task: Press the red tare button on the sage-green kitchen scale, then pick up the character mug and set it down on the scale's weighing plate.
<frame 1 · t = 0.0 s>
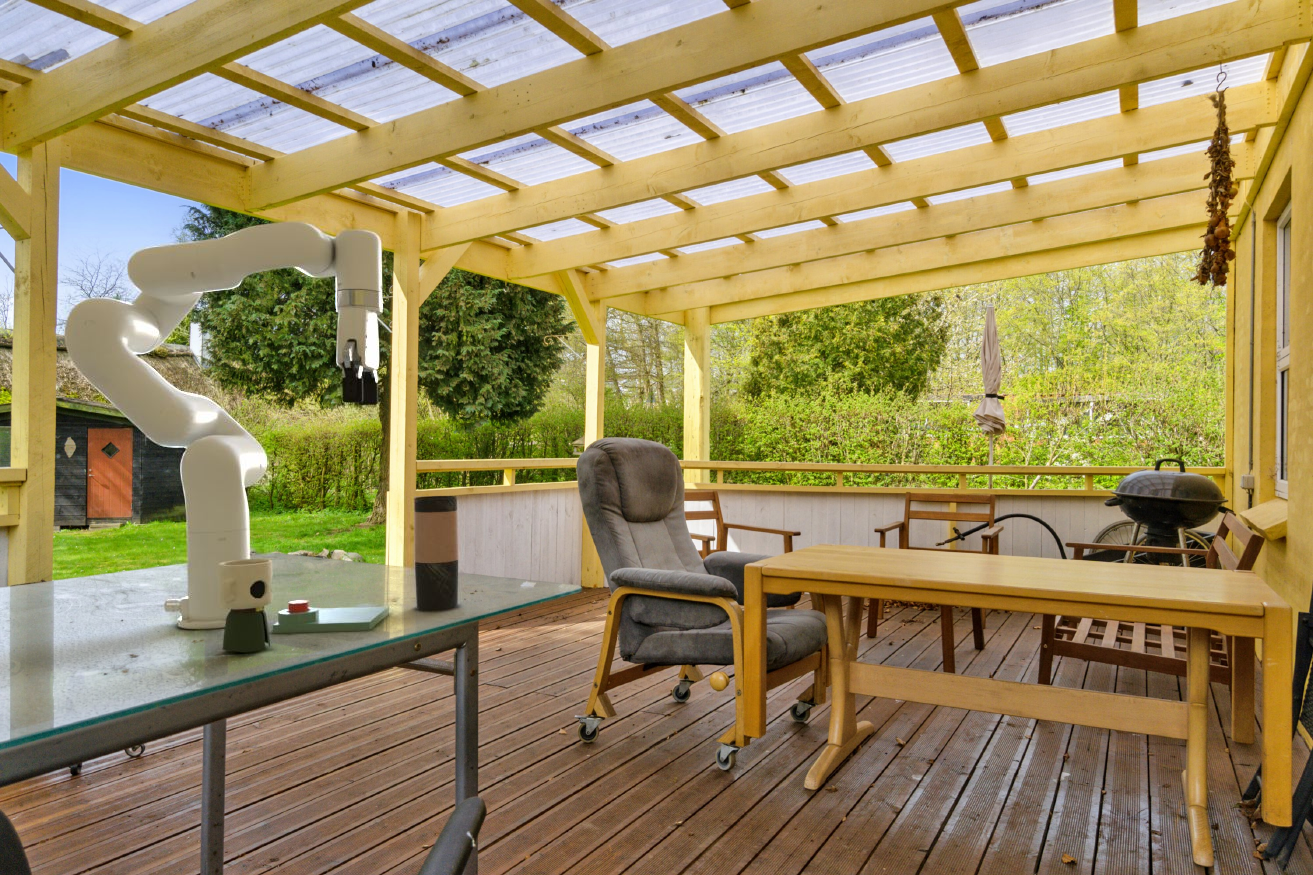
hand: (360, 403, 147), 37 cm above the table, tool pointing down, fingers open, 9 cm apart
travel mug: (437, 608, 155), on the table
scale: (333, 623, 143), on the table
tare button: (298, 607, 139), point 4 cm above the table, slide at 0.2 cm
character mug: (246, 652, 124), on the table
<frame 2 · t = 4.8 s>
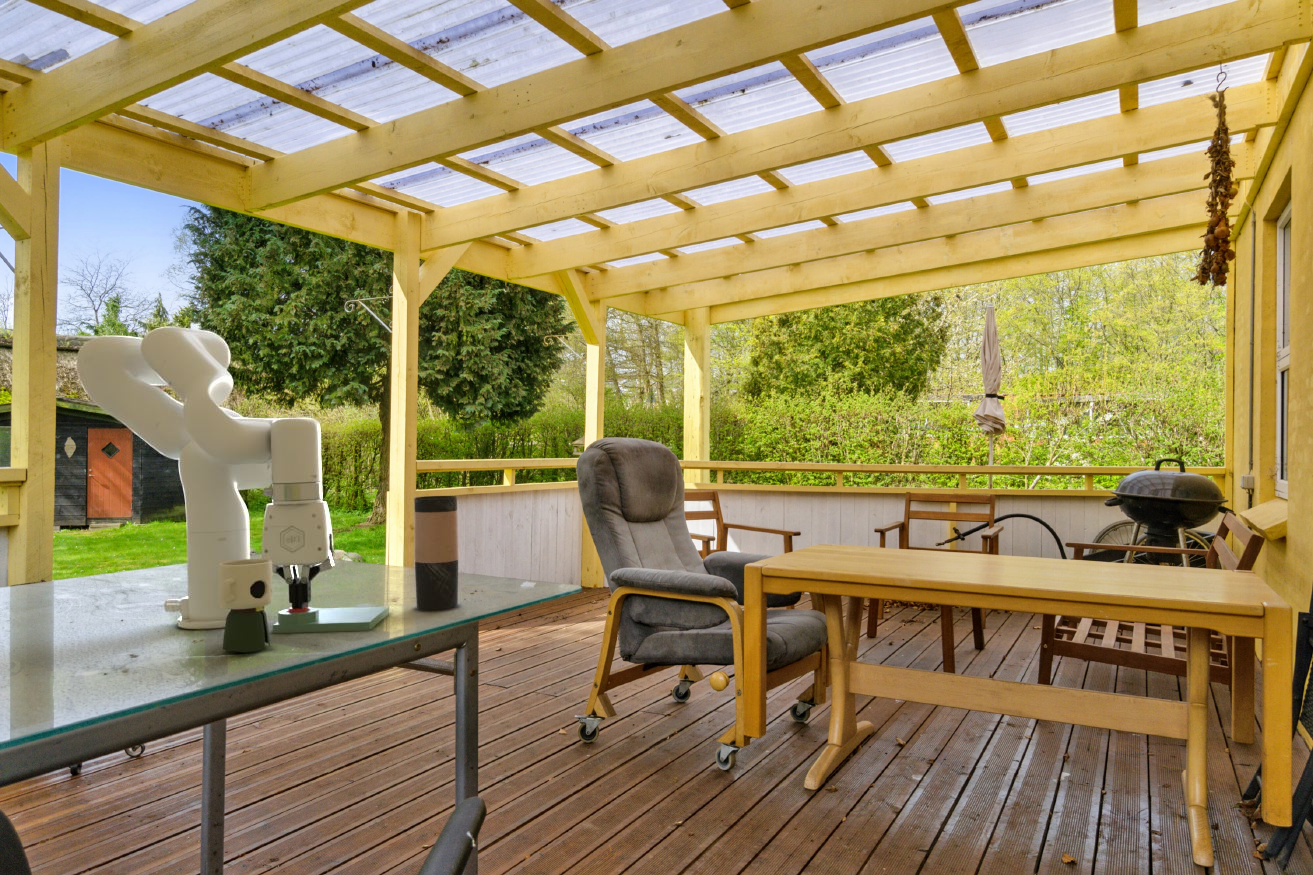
hand: (300, 607, 139), 4 cm above the table, tool pointing down, fingers closed
tare button: (298, 612, 139), point 3 cm above the table, slide at -0.7 cm, touching gripper
everything else where it was.
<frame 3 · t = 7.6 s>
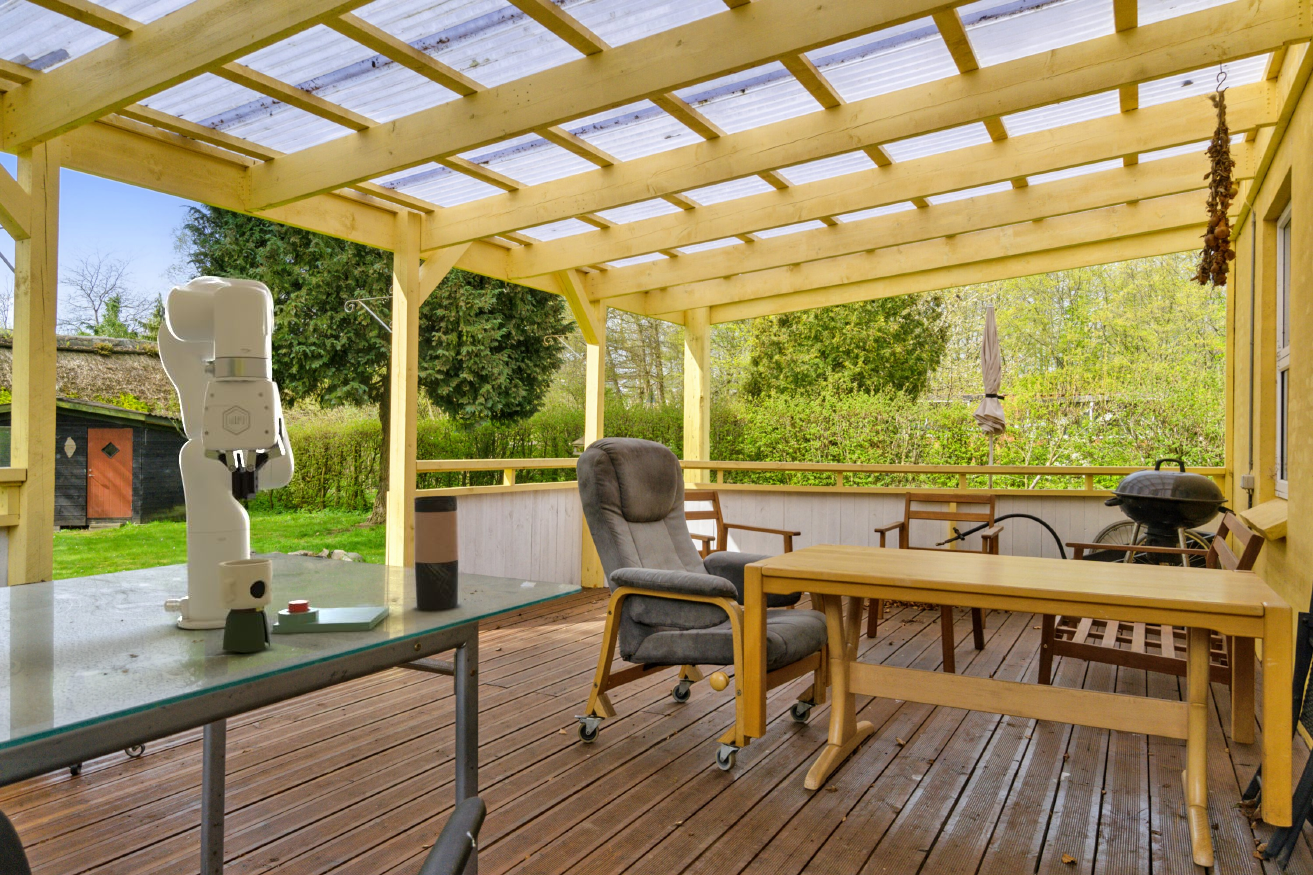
hand: (245, 498, 125), 22 cm above the table, tool pointing down, fingers closed
tare button: (298, 607, 139), point 4 cm above the table, slide at 0.2 cm
everything else where it was.
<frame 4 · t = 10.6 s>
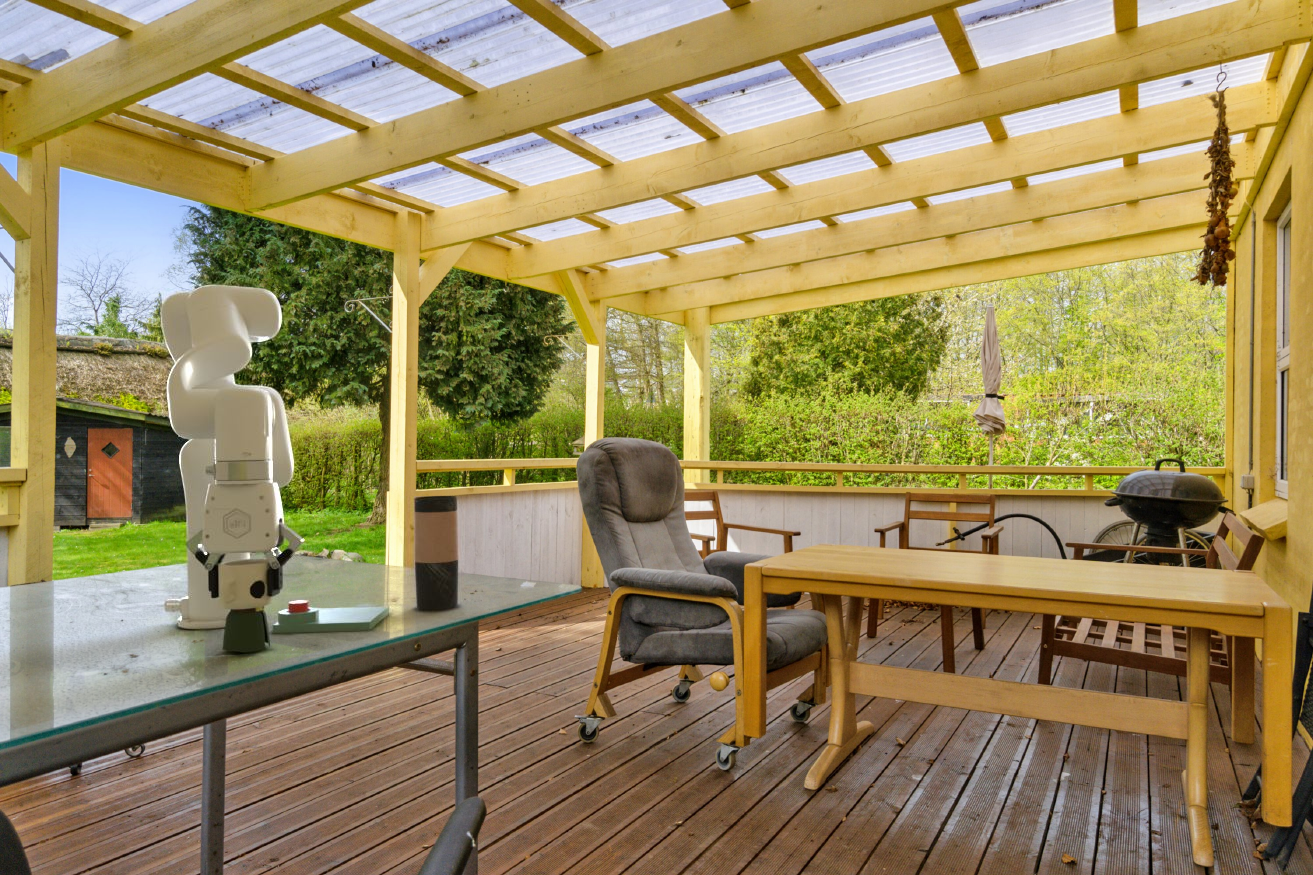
hand: (246, 594, 124), 8 cm above the table, tool pointing down, fingers closed on character mug, 7 cm apart
character mug: (246, 652, 124), on the table, touching gripper
everything else where it was.
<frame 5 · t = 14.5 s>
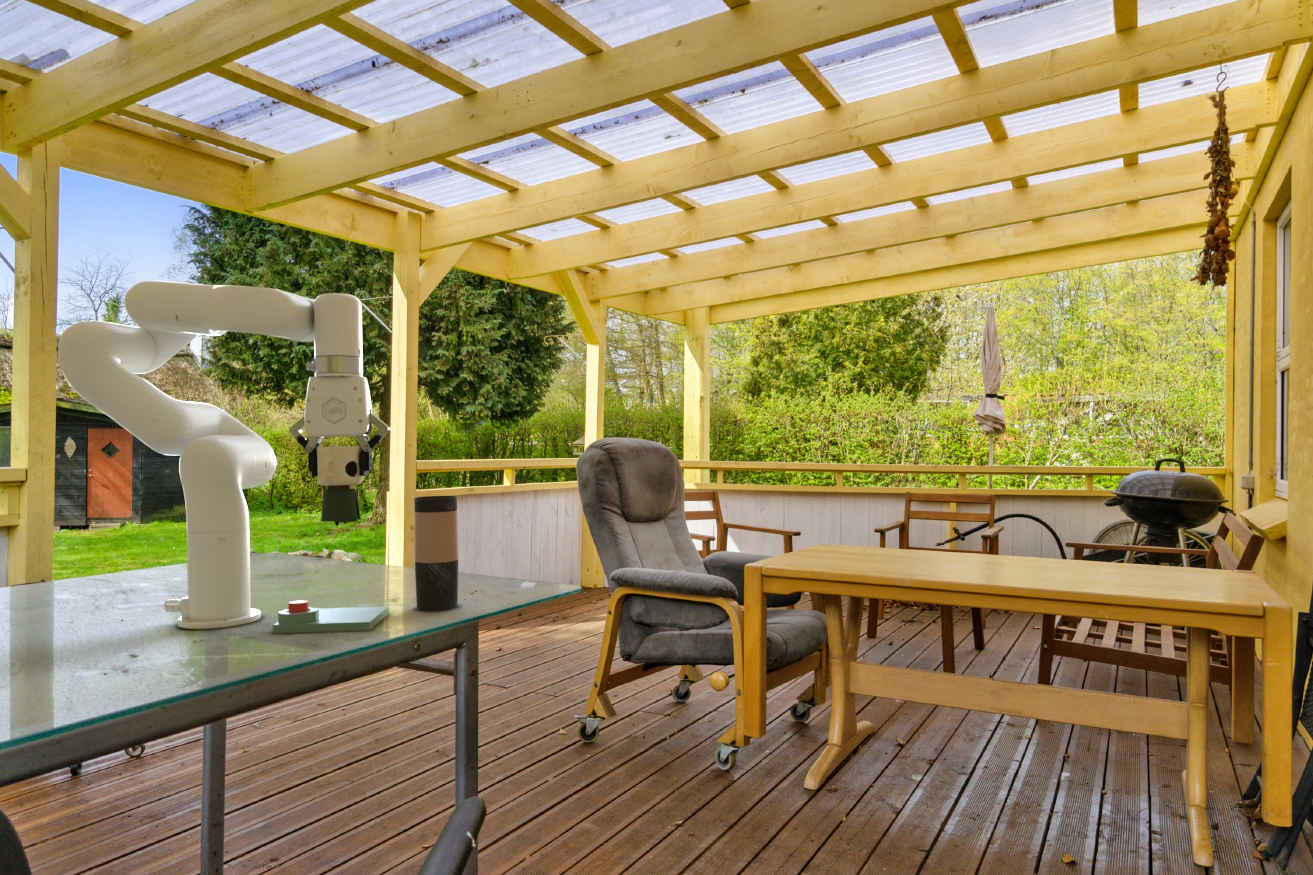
hand: (340, 475, 143), 25 cm above the table, tool pointing down, fingers closed on character mug, 7 cm apart
character mug: (341, 525, 143), point 16 cm above the table, touching gripper
everything else where it was.
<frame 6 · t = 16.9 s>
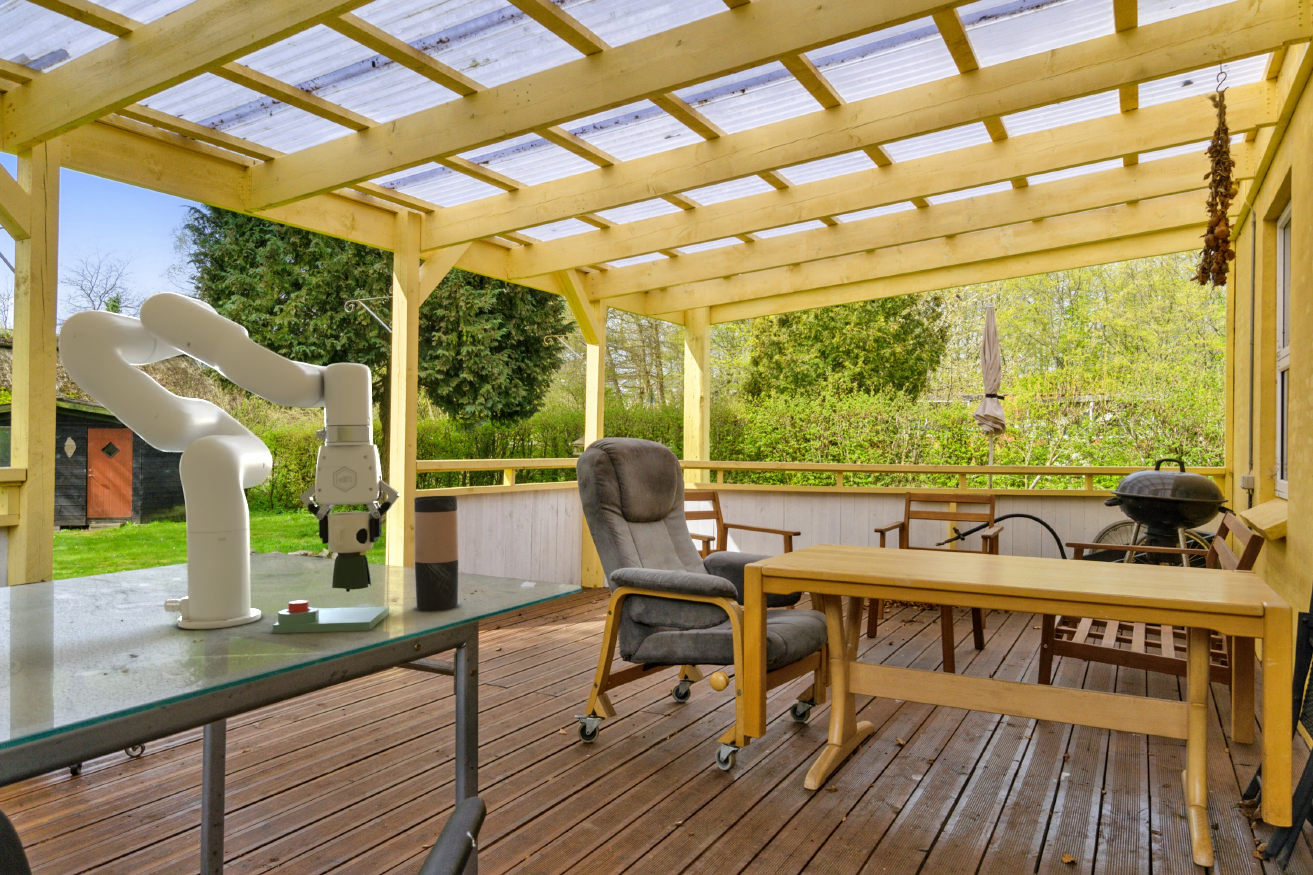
hand: (350, 541, 145), 13 cm above the table, tool pointing down, fingers closed on character mug, 7 cm apart
character mug: (351, 591, 145), point 5 cm above the table, touching gripper
everything else where it was.
when the fingers open (10 cm above the table, at t = 18.7 s): character mug stays where it is, resting on scale.
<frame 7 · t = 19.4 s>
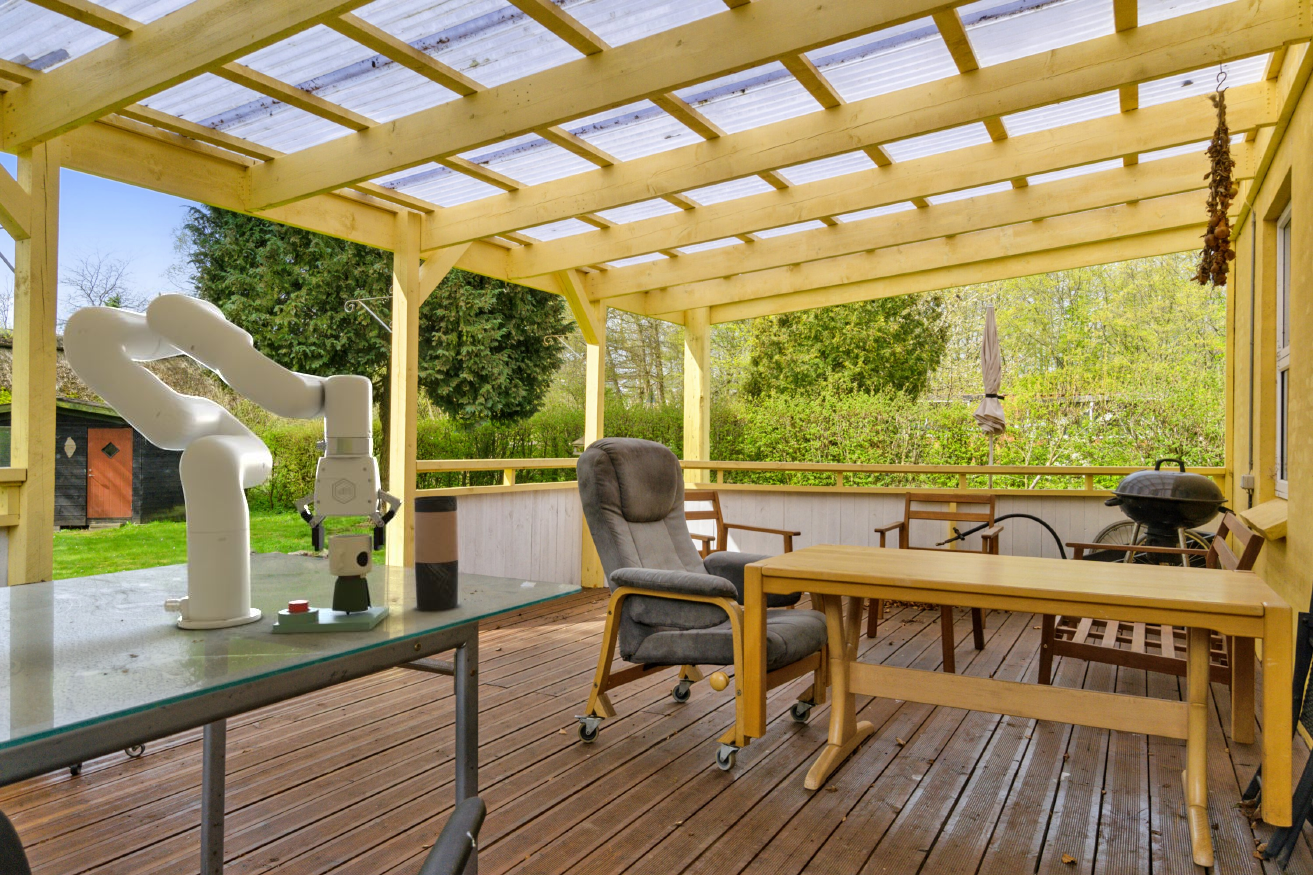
hand: (348, 550, 145), 12 cm above the table, tool pointing down, fingers open, 9 cm apart
character mug: (351, 613, 145), point 1 cm above the table, touching scale
everything else where it was.
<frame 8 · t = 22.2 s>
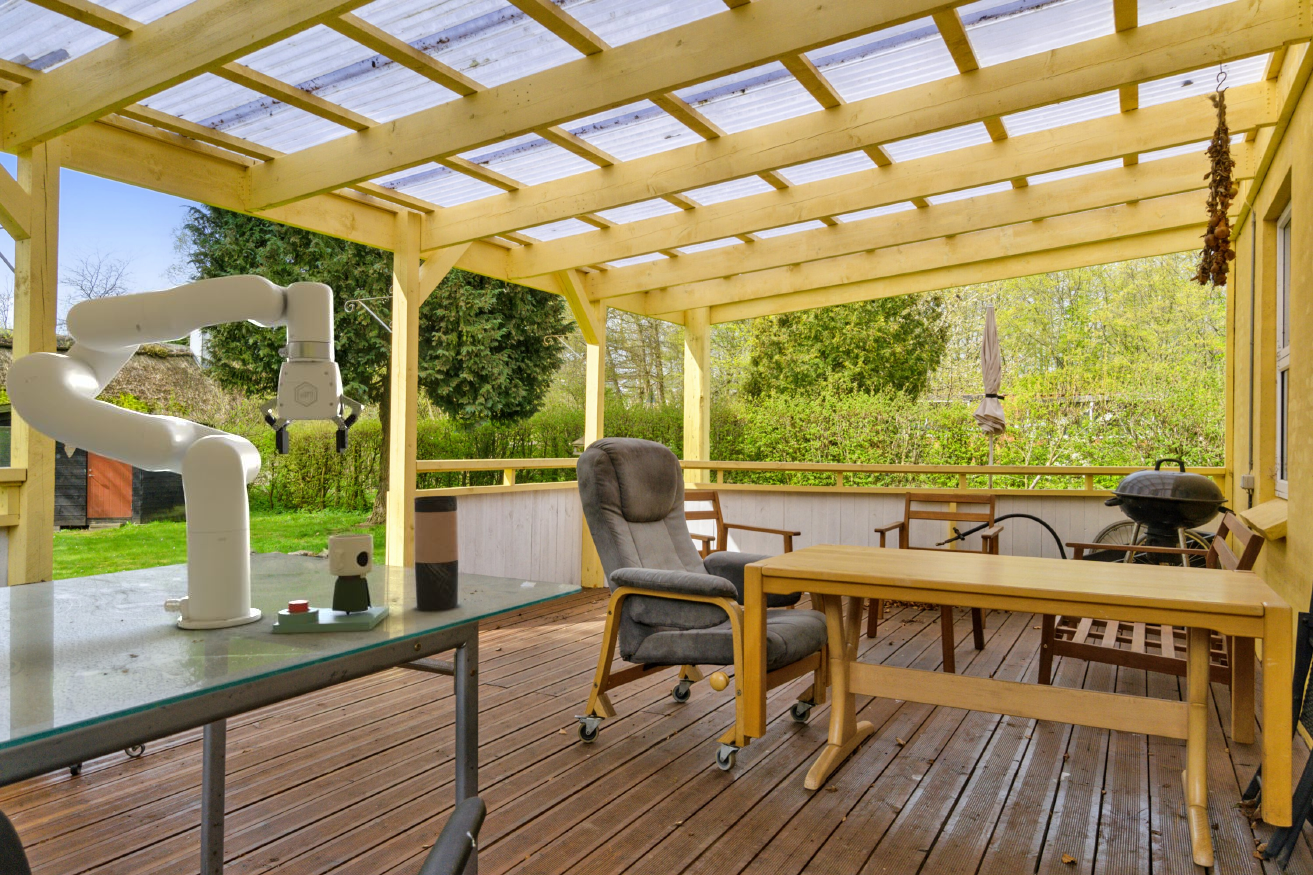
hand: (312, 453, 149), 28 cm above the table, tool pointing down, fingers open, 9 cm apart
nothing on the table moved.
at the end: tare button pushed in 0.8 cm at the most during the clip, back to 0.2 cm at the end; tare button slide at 0.2 cm; character mug inside the target area on the scale (0.2 cm from its centre), point 1.2 cm above the scale's base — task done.
